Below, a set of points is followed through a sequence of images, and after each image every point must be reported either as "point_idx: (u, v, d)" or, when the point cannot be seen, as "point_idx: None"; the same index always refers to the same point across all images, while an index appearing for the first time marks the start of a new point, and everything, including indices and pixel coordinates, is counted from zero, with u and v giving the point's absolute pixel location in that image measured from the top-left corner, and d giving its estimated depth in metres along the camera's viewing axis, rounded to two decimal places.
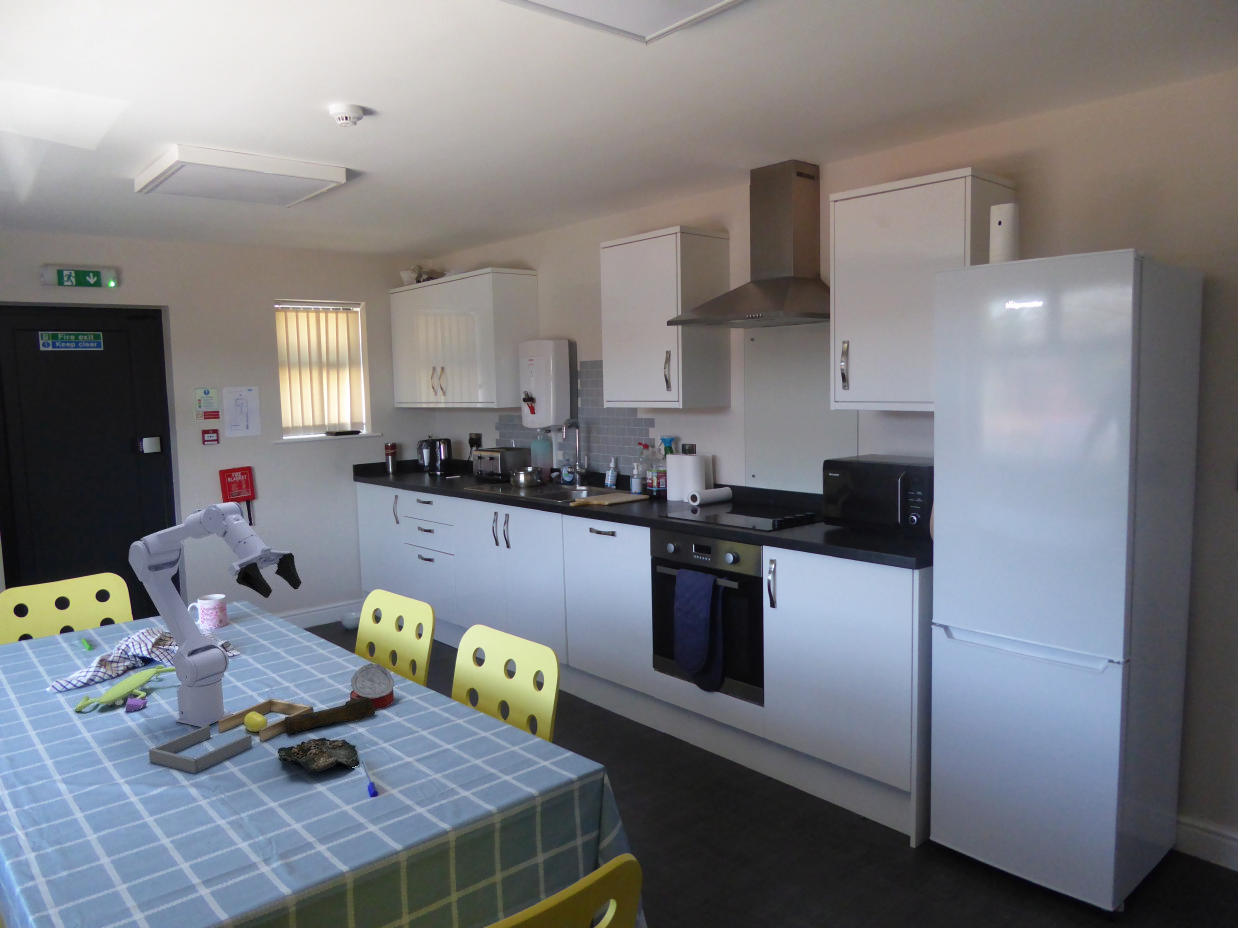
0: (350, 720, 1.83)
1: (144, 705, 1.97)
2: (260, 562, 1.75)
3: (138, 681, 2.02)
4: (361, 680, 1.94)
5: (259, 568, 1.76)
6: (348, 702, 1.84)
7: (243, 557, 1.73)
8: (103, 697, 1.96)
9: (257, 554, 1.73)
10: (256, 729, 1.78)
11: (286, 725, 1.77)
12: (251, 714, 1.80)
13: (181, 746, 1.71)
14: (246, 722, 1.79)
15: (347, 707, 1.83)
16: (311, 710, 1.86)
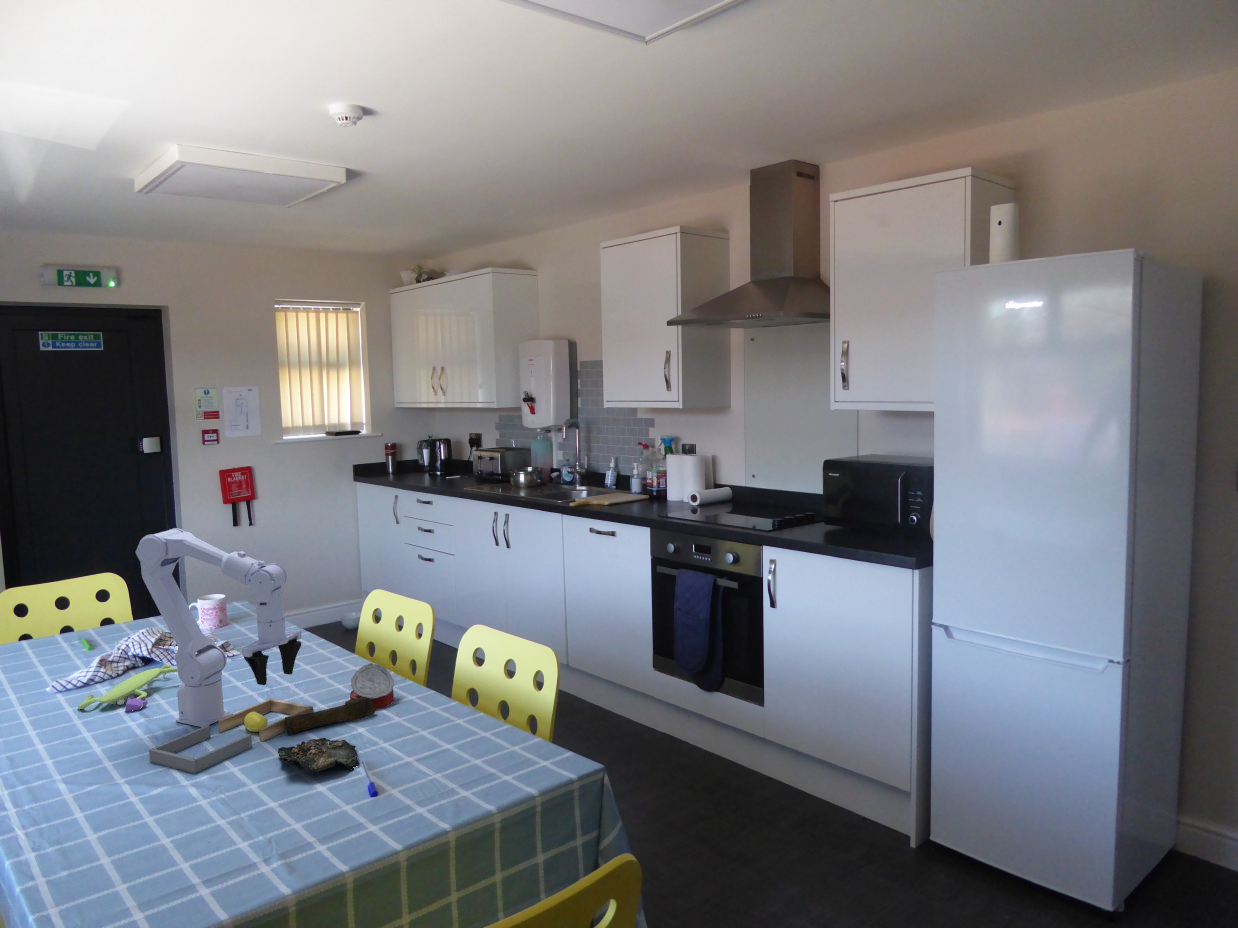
0: (350, 720, 1.83)
1: (144, 705, 1.96)
2: None
3: (141, 681, 2.02)
4: (361, 680, 1.94)
5: None
6: (348, 702, 1.84)
7: (261, 635, 1.82)
8: (105, 696, 1.96)
9: (273, 644, 1.82)
10: (256, 729, 1.78)
11: (286, 725, 1.77)
12: (251, 714, 1.80)
13: (181, 746, 1.71)
14: (246, 722, 1.79)
15: (347, 707, 1.83)
16: (311, 710, 1.86)
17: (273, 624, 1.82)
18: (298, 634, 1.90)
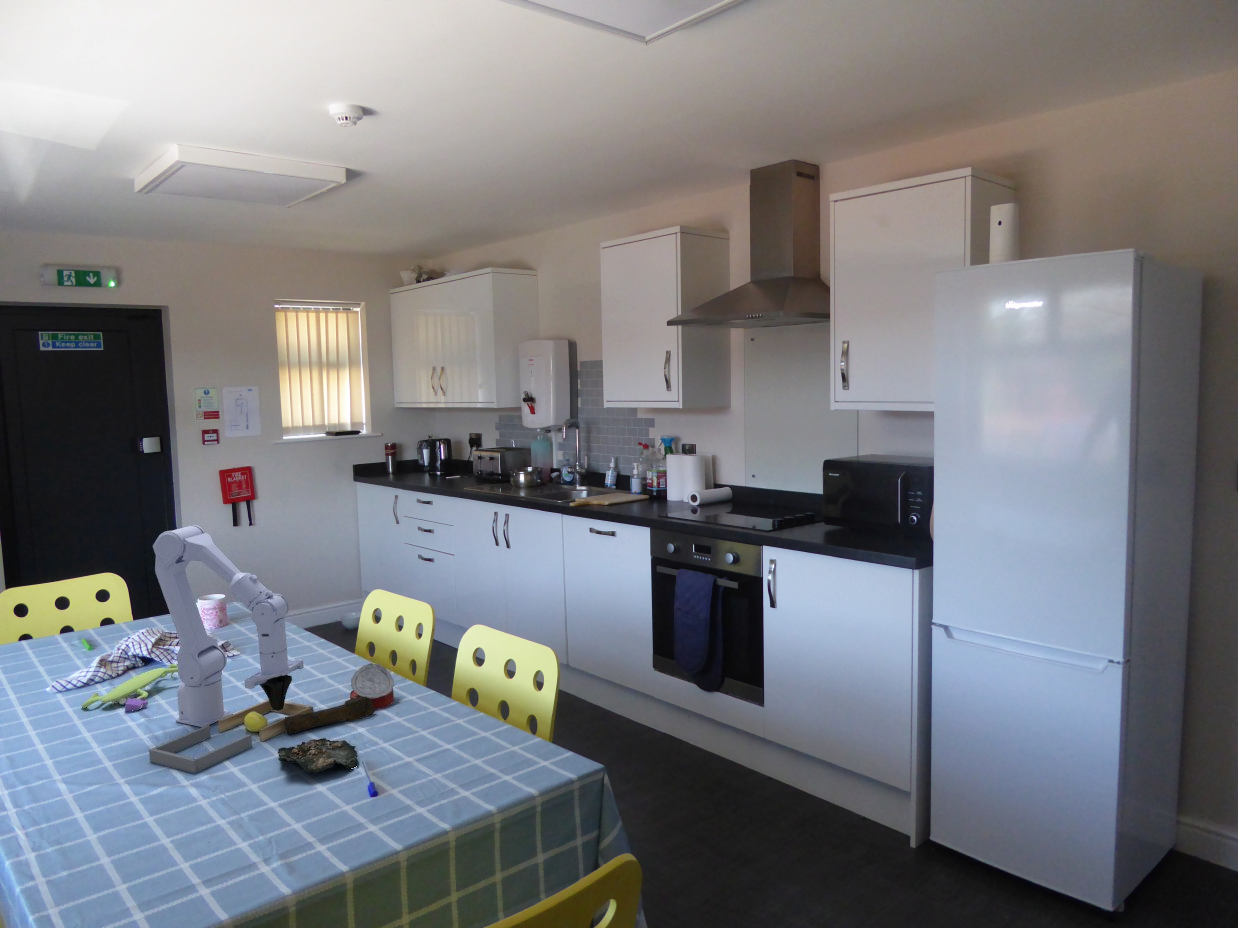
0: (350, 719, 1.84)
1: (144, 706, 1.96)
2: None
3: (143, 681, 2.02)
4: (361, 680, 1.94)
5: None
6: (348, 701, 1.84)
7: (263, 666, 1.82)
8: (106, 695, 1.97)
9: (276, 675, 1.82)
10: (256, 729, 1.78)
11: (286, 725, 1.77)
12: (251, 714, 1.80)
13: (181, 746, 1.71)
14: (246, 722, 1.79)
15: (347, 706, 1.83)
16: (311, 710, 1.86)
17: (275, 655, 1.82)
18: (300, 664, 1.90)
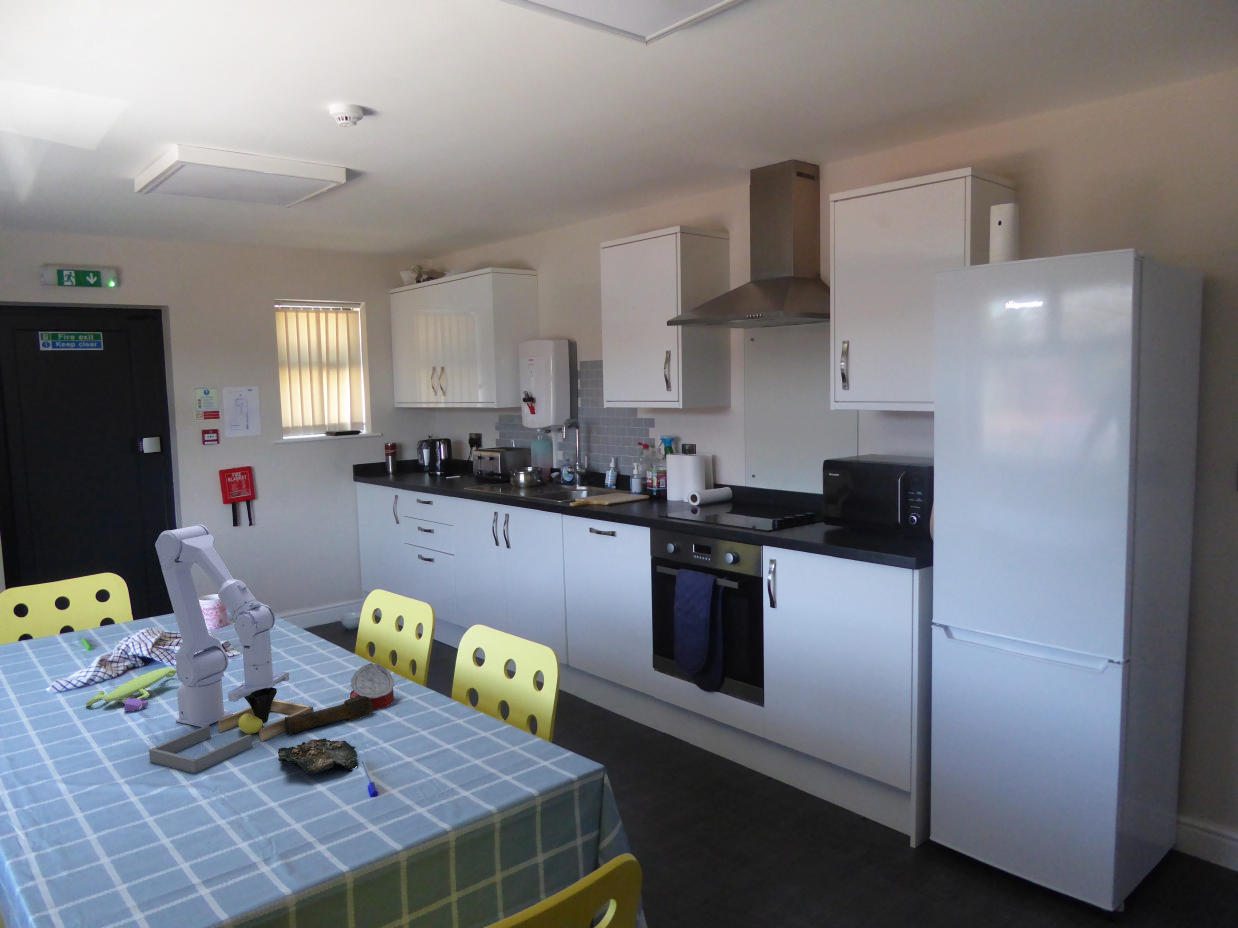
0: (349, 719, 1.84)
1: (143, 706, 1.96)
2: None
3: (146, 681, 2.03)
4: (361, 680, 1.94)
5: None
6: (347, 701, 1.85)
7: (247, 679, 1.79)
8: (109, 694, 1.98)
9: (260, 687, 1.79)
10: (252, 731, 1.77)
11: (287, 725, 1.77)
12: (246, 716, 1.79)
13: (181, 746, 1.71)
14: (241, 724, 1.78)
15: (346, 706, 1.84)
16: (311, 710, 1.86)
17: (260, 667, 1.79)
18: (286, 675, 1.87)
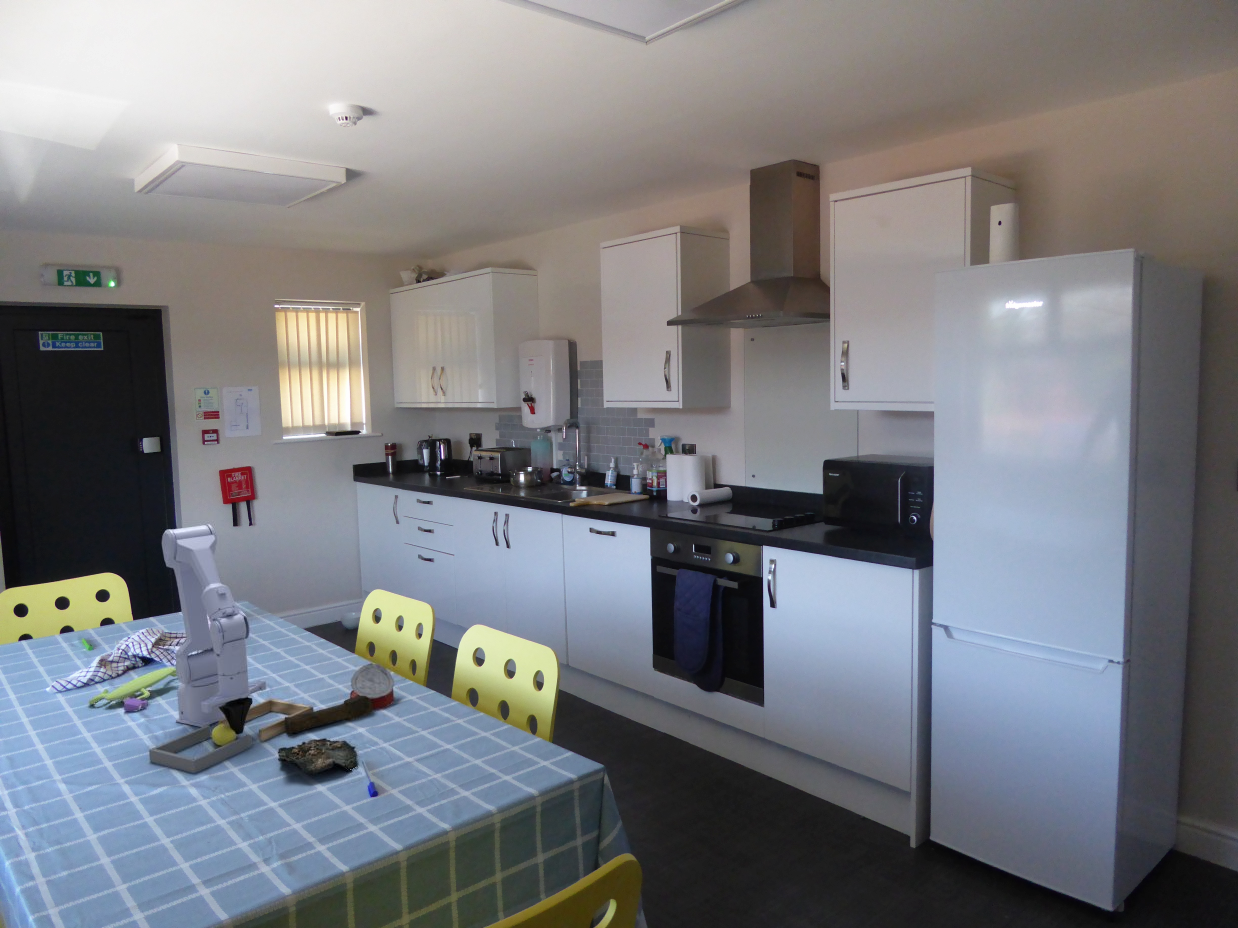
0: (349, 718, 1.84)
1: (143, 706, 1.96)
2: None
3: (148, 680, 2.02)
4: (361, 680, 1.94)
5: None
6: (347, 701, 1.85)
7: (222, 688, 1.73)
8: (111, 693, 1.98)
9: (235, 697, 1.73)
10: (223, 743, 1.71)
11: (287, 725, 1.77)
12: (219, 727, 1.73)
13: (181, 746, 1.71)
14: (213, 735, 1.72)
15: (346, 705, 1.84)
16: (311, 710, 1.86)
17: (235, 677, 1.73)
18: (262, 685, 1.81)
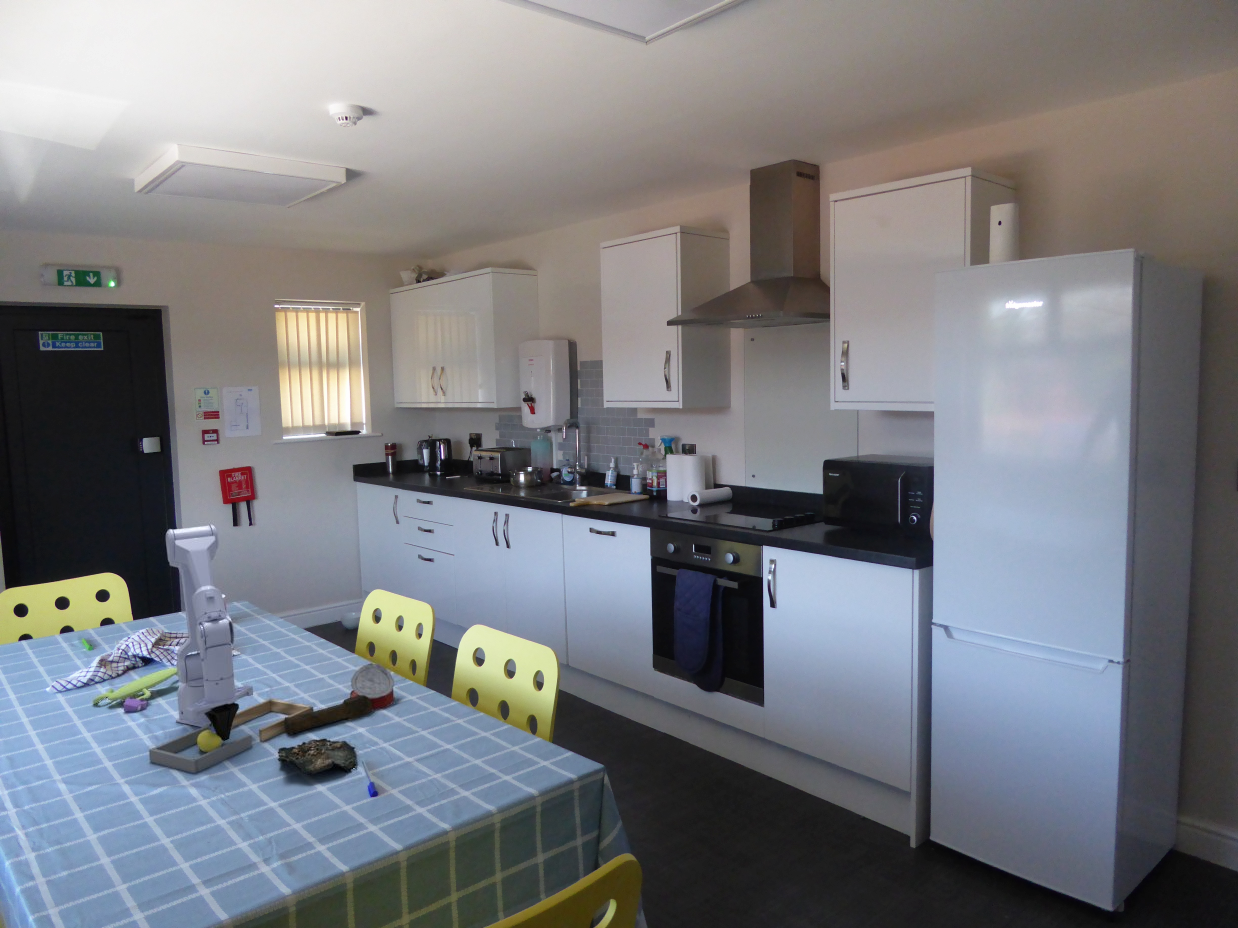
0: (349, 718, 1.85)
1: (142, 707, 1.95)
2: None
3: (150, 680, 2.02)
4: (361, 680, 1.94)
5: None
6: (346, 700, 1.85)
7: (207, 694, 1.70)
8: (113, 693, 1.98)
9: (220, 703, 1.70)
10: (209, 749, 1.68)
11: (287, 725, 1.77)
12: (204, 733, 1.70)
13: (181, 746, 1.71)
14: (199, 742, 1.69)
15: (346, 705, 1.84)
16: (311, 710, 1.86)
17: (220, 682, 1.70)
18: (249, 690, 1.78)
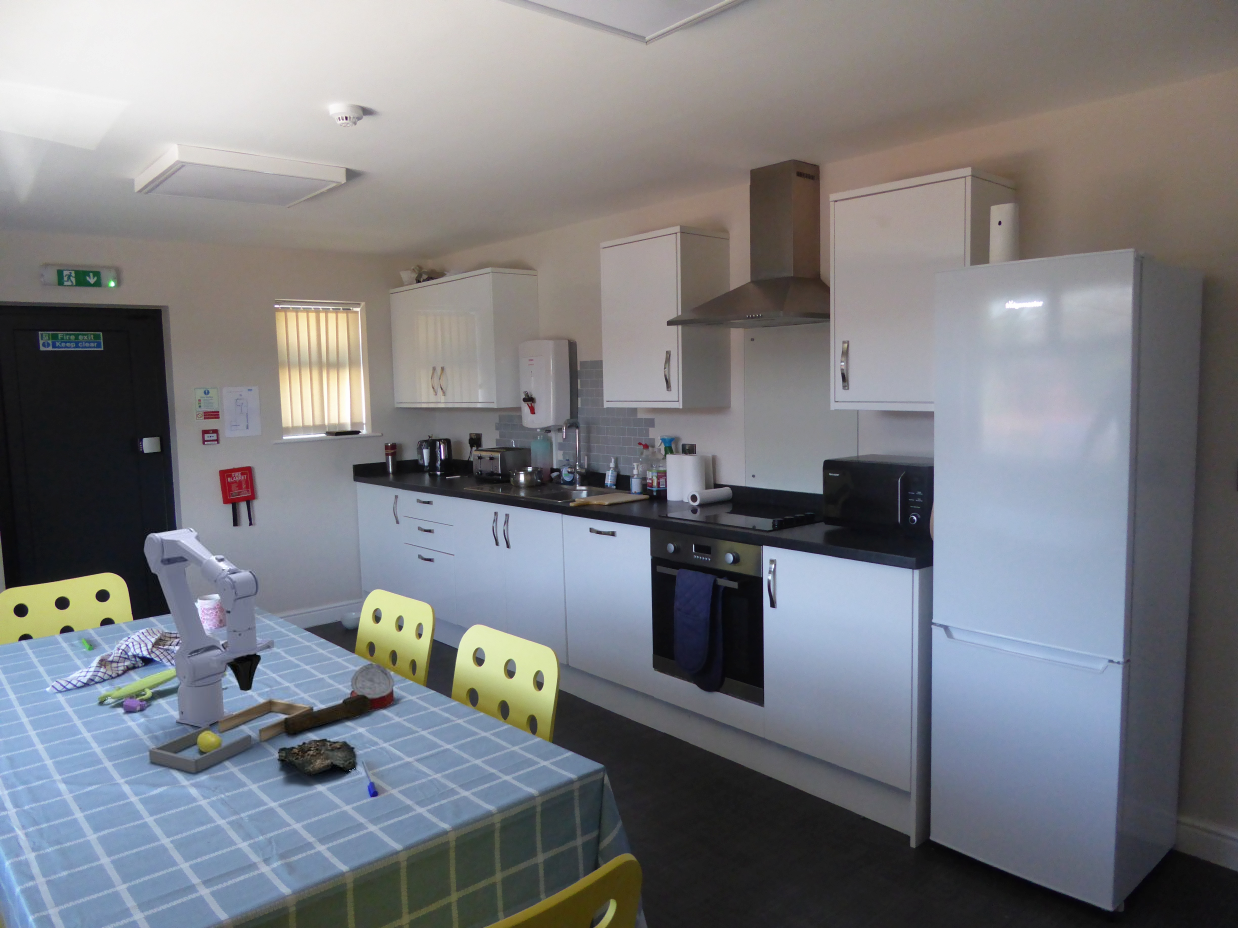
0: (348, 717, 1.85)
1: (142, 707, 1.95)
2: None
3: (153, 680, 2.02)
4: (361, 680, 1.94)
5: None
6: (346, 700, 1.85)
7: (230, 645, 1.75)
8: (116, 692, 1.99)
9: (243, 653, 1.75)
10: (209, 750, 1.68)
11: (287, 726, 1.76)
12: (204, 734, 1.70)
13: (181, 746, 1.71)
14: (199, 742, 1.69)
15: (345, 705, 1.84)
16: (311, 710, 1.86)
17: (243, 633, 1.75)
18: (270, 643, 1.83)
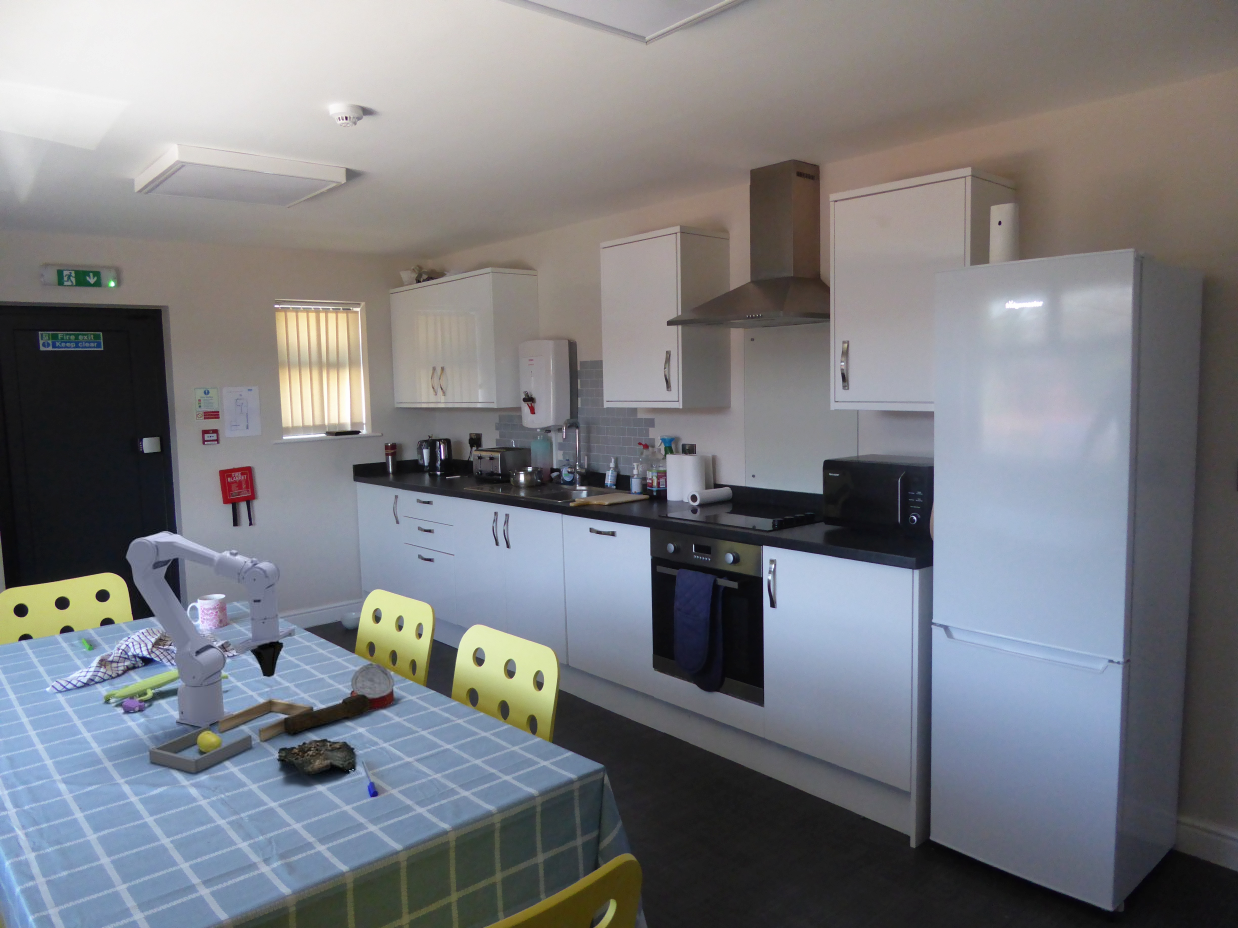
0: (348, 717, 1.85)
1: (141, 708, 1.95)
2: None
3: (156, 681, 2.02)
4: (361, 680, 1.94)
5: None
6: (345, 699, 1.85)
7: (254, 632, 1.83)
8: (119, 691, 2.00)
9: (267, 641, 1.83)
10: (209, 750, 1.68)
11: (288, 725, 1.76)
12: (204, 734, 1.70)
13: (181, 746, 1.71)
14: (199, 742, 1.69)
15: (345, 704, 1.85)
16: (311, 710, 1.86)
17: (266, 621, 1.83)
18: (292, 631, 1.91)
